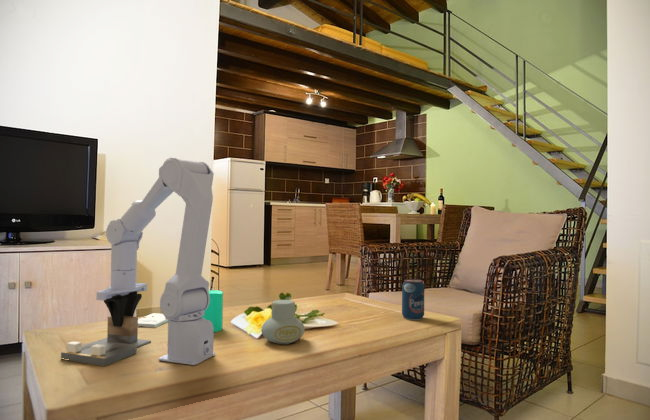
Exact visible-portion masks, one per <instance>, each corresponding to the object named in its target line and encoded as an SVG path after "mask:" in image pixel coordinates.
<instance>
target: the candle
mask: <svg viewBox="0 0 650 420" xmlns="http://www.w3.org/2000/svg"><path fill="white" fill-rule="evenodd" d="M209 296H210V303H209V306H208V308H207V309H206V310H205V311H204V315H203V316H202V317H203V318H204V319H206V320H209V321H211V322H212V324H213V328H214V333H216V332H217V333H218V332H220V331H222V330H223V320H224V317H223V316H224V315H223V313H224V312H223V311H224V308H223V307H224V291H221V290H218V289H211V290H210V289H209Z"/></svg>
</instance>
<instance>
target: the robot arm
mask: <svg viewBox="0 0 650 420" xmlns="http://www.w3.org/2000/svg"><path fill="white" fill-rule="evenodd" d="M214 175H215V174H214V172H213V170H212V169H211V168H210V166H209V164H207V163H206V162H204V161H194V160H187V159H182V158H181V159H180V158H177V157H173V156H172V157H169V158H167V159H165V161H164V162H163V164H162V165H161V166H159V169H158V178H157V180H156V181H155V182H154V183H153V185H152V186H151V188H150V189H149V190H148V192H147V194H145V197H143V199H140V200H139V199H138V200H135V201H133V202H132V203H131V205H130V207H129V208H128V209H127V210H126V212H125V213H123V215H122V216H121V217H120V218H117V219H113V220H110V221H109V222H108V225H107V227H106V230H105V231H106V232H105V233H106V234H105V235H106V238H107V239H106V240H107V241H108V242H109V243H110V245H111V248H110V251H111V254H110V255H111V256H110V286H107V287H108V288H104V289H102V290H99V291H96V295H95V296H96V301H103V303H105V305H106V307H107V309H108V311H109V314H110V316H111V318H112V321H113V325H114V326H117V327H121V326H122V325H123V317H124V316H133V317H134V316H135V315H134V314H135V312H136V308H137V307H138V304H139V302H140V301H141V299H142V297H143V296H142V295H143V294H142V293H140V292H147V291H148V283H146V282H145V283H144V282H140V283H139V282H138V283H137V260H138V259H137V257H138V255H137V253H138V252H137V251H138V250H139V248H140V242H141V240H142V238H143V234H144V233H143V231H144V230H145V229H146V227H147V226H148V225H149V224H150V223H151V222H152V221H153V219H155V216H156V213H157V211H156V209H157V208H158V207H159V206H160V205H161V204H162V203H163V202H164V201H165V200H167V198H168V197H169V196H170V195H172V194H173V193H175V194H176V195H178V197H181V199H182V200H183V202H184V203H185V206H184V207H185V208H184V215H183V221H182V222H183V223H182V229H181V235H180V242H179V249H178V256H177V263H176V269H175V273H174V274H173V275H172V276H171V277H170V278H169V279H168V280H167V281H166V283H165V286H164V290H163V293H162V294H161V296H160V299H159V309H160V311H161V314H163V315H164V316H165V319H167V320H168V322H167V353H166V354H164V355H162V356H160V357H158V361H162V362H169V363H175V364H181V365H182V364H183V365H189V366H196V365H198V364H200V363H202V362H204V361H205V360H208V359H210V358H212V357H213V356H215V355H216V352H214V333H215V332H214V328H213V324H212V322H211V321H209V320H206V319H204V318H203V317H202V316H203V315H204V311H205V310H206V309H207V308H208V306H209V303H210V296H209V290H210V288H209V287H210V282H209V281H208V280H207V279H205V277H204V276H203V275H202V273H203V266H204V261H205V255H206V254H205V253H206V246H207V242H208V241H207V240H208V233H209V228H210V227H209V226H210V220H211V214H212V206H213V199H214V195H213V189H212V188H213V187H212V186H213V181H214Z"/></svg>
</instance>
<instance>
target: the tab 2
mask: <svg viewBox="0 0 650 420" xmlns="http://www.w3.org/2000/svg"><path fill="white" fill-rule="evenodd" d="M105 351H106V345H99V344H96V345H93V346H91V355H97V356H101V355H103V354H105Z"/></svg>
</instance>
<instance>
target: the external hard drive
mask: <svg viewBox="0 0 650 420" xmlns="http://www.w3.org/2000/svg"><path fill="white" fill-rule="evenodd" d="M152 316H154V317H152ZM144 317H146V318H143V317H140V318H138V328H152V329H153V328H154V329H156V328H158V327H160V326H162V325H164V324H165V323H168V320H167V319H165V316H164V315H163V313H158V312H156V313H154V312H152V313H150V314H148V315H144Z"/></svg>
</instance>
